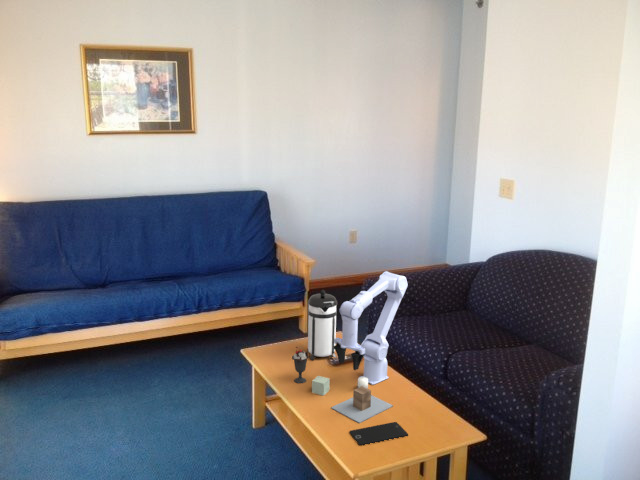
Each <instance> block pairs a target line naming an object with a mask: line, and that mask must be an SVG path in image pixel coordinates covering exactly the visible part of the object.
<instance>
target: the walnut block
mask: <svg viewBox="0 0 640 480" xmlns="http://www.w3.org/2000/svg"><path fill="white" fill-rule="evenodd" d="M352 393H353V397H352V398H353V407H355V408H357V409H359V410H361V411H363V410H365V409H367V408H369V407H371V395H372V390H371V389H370V388H368V389H367V388H365V387H363V386H361V387H359V388H358V387H356V388H355V389H353V392H352Z"/></svg>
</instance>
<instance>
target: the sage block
mask: <svg viewBox="0 0 640 480" xmlns="http://www.w3.org/2000/svg"><path fill="white" fill-rule="evenodd" d="M330 379H331V378H329V377H325V376H320V375H317V376H315V378H314V379H312V380H311V393H312V394H314V395H320V396H325V395H326V394H327V393H328V392H329V391H330V385H331V384H330Z"/></svg>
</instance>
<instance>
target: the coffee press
mask: <svg viewBox="0 0 640 480" xmlns="http://www.w3.org/2000/svg"><path fill="white" fill-rule="evenodd" d="M307 305H308V309H307V315H308V321H307V322H308V323H307V325H308V326H307V327H308V328H307V329H308V330H307V335H308V336H307V351H308V353H310V356H309V359H310V361H314V360H315V359H316V357H322V358H323V357H330V358H331V357H336V358H337V356H336V355H337V354H336V353H335V352H336V351H335V349H334V346H335V345H336V344H335V343H334V339H335V338H337V336H336V333H337V331H336V330H337V329H336V328H337V314H338V313H337V311H338V310H337V305H338V300H337V299H336V297H335V296H334V295H332V294H329V293H326V290H324V289H321V290H320V291H319V293H316V294H313V295H311V296H310V297H309V298H308V300H307Z"/></svg>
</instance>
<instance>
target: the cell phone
mask: <svg viewBox="0 0 640 480" xmlns="http://www.w3.org/2000/svg"><path fill="white" fill-rule="evenodd" d="M349 434H350V436H351V435H352V436H353V437H352V436H351V437H352V438H353V439H354V441H355V440H356V441H357V442H356V441H355V442H356V443H357V445H358V446H360V445H363V446H366V445H365V444H368V445H371V444H370V443H373V444H376V443H375V442H378V443H381V442H380V441H382V442H385V441H384V440H387V441H390V440H389V439H392V440H395V439H394V438H397V439H400V438H399V437H402V438H405V437H404V436H407V437H408V436H409V433H407V431H406V429H404V428H403V426H401V425H400V424H399V423H398V421H394V422H393V421H391V422H387V423H382V424H377V425H372V426H367V427H363V428H357V429H353V430H349Z"/></svg>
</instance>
